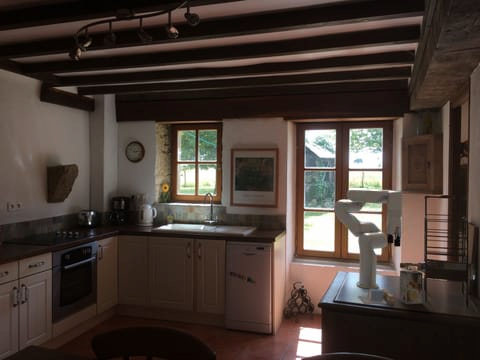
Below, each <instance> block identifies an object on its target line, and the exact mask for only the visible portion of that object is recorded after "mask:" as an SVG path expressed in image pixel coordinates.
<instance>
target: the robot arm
mask: <svg viewBox="0 0 480 360" xmlns="http://www.w3.org/2000/svg"><path fill="white" fill-rule="evenodd" d="M346 197H347V199H339V200H338V201H336V202H335V203H334V207H333V210H334V214H335V216H336V218H337V220H339V221H340V223H342V224H343V225H344V226H345V227H346V229H348V230H349V232H350V233H351V234H352V235H353V236H354V237H355V238H358V239H357V240H358V241H357V242H358V248H359V271H358V273H359V274H358V275H359V276H358V277H359V278H358V279H359V281H357V282H356V287H359V288H362V289H368V290H369V289H379V287H380V286H379V284H378V283H377V261H378V260H377V257H378V256H377V254H376V252H375V250H378V249H383V248H385V247H386V246H387V245H388V244H393V246H394V247H396V248H397V247H399V248H400V247H401V245H402V244H401V241H402V217H403V193H402V191H400V190H392V189H370V188H365V187H364V188H363V187H362V188H361V187H358V188H357V187H356V188H355V187H354V188H353V187H352V188H350V189H348V191H347V192H346ZM366 204H386V227H385V232H386V233H387V234H385V233H384V232H383V231H382V230H381V229H380V227H378V226H377V225H376V224H375V222H371V221H360V220H359V219H358V218H357V217H356V215H354V214H355V213H356V214H357V213H359V212H360V211H361V210H362V209H363V208H364V206H365V205H366ZM352 213H353V214H352Z"/></svg>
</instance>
